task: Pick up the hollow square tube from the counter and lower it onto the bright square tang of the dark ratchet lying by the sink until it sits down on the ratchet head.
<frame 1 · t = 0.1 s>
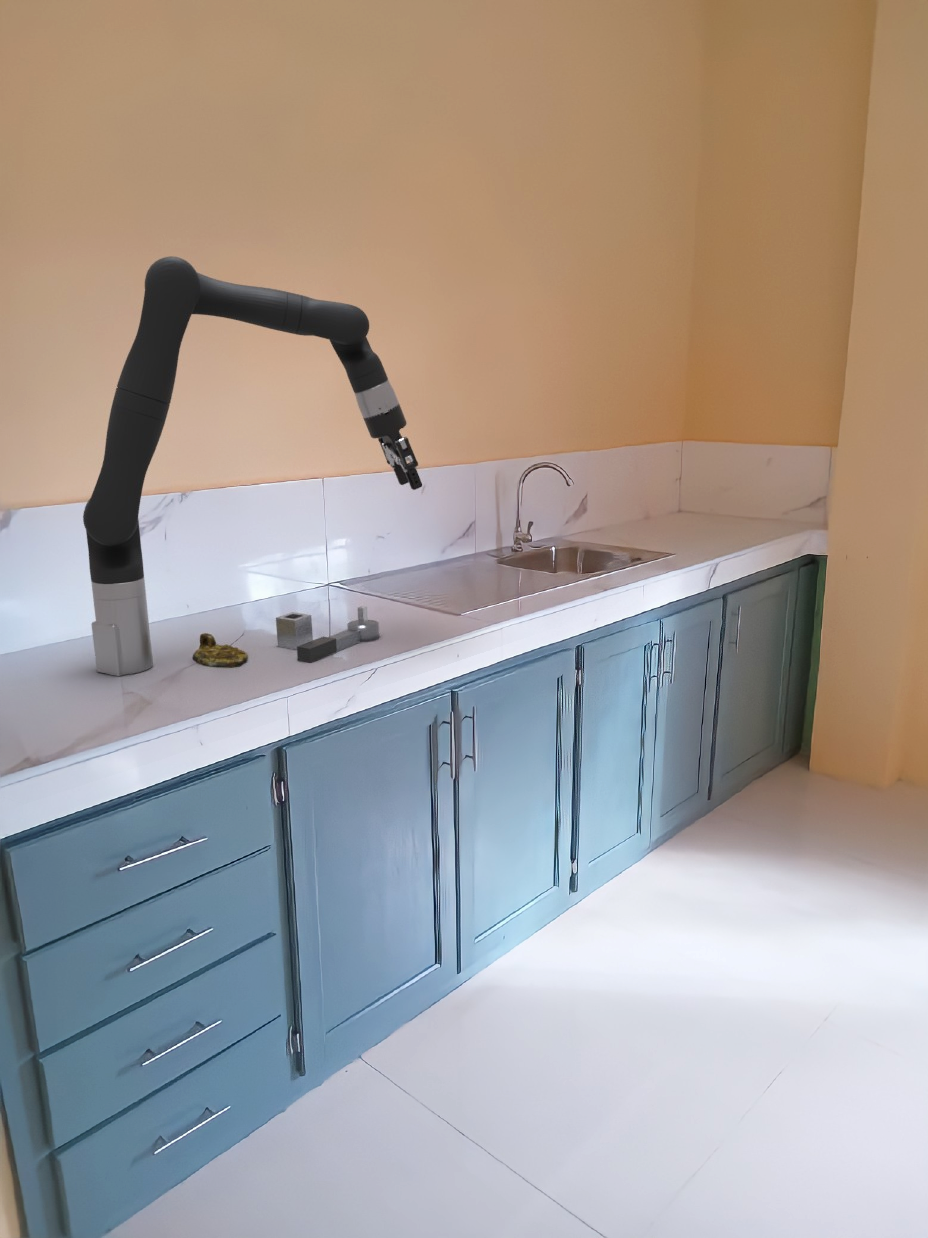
hand: (411, 485, 188), 31 cm above the counter, tool tilted 20°, fingers open, 8 cm apart
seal: (220, 661, 183), on the counter
hollow square tube: (295, 645, 191), on the counter
ratchet: (363, 637, 196), on the counter
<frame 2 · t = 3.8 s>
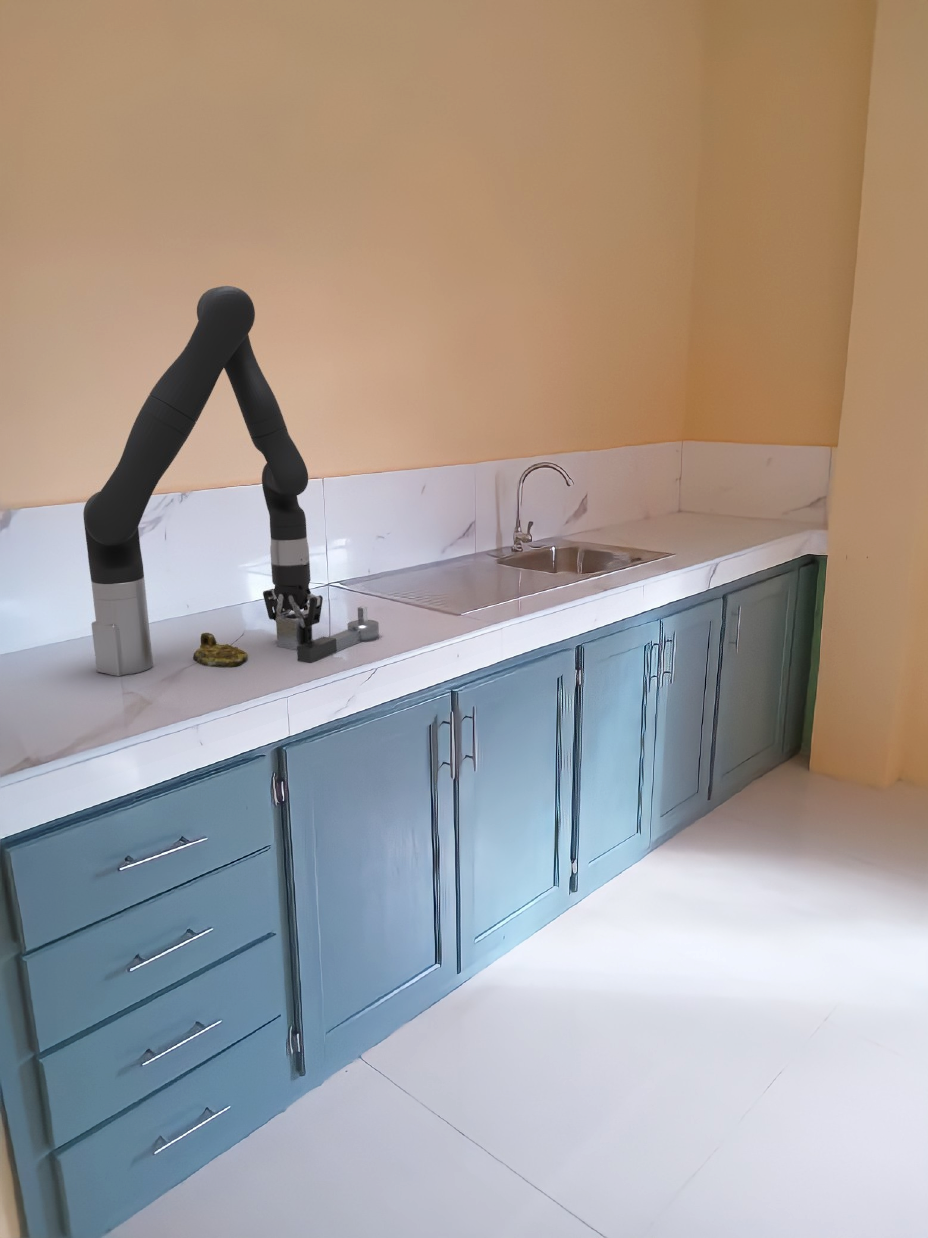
hand: (295, 642, 191), 1 cm above the counter, tool pointing down, fingers closed on hollow square tube, 5 cm apart
hollow square tube: (295, 645, 191), on the counter, touching gripper
everything else where it was.
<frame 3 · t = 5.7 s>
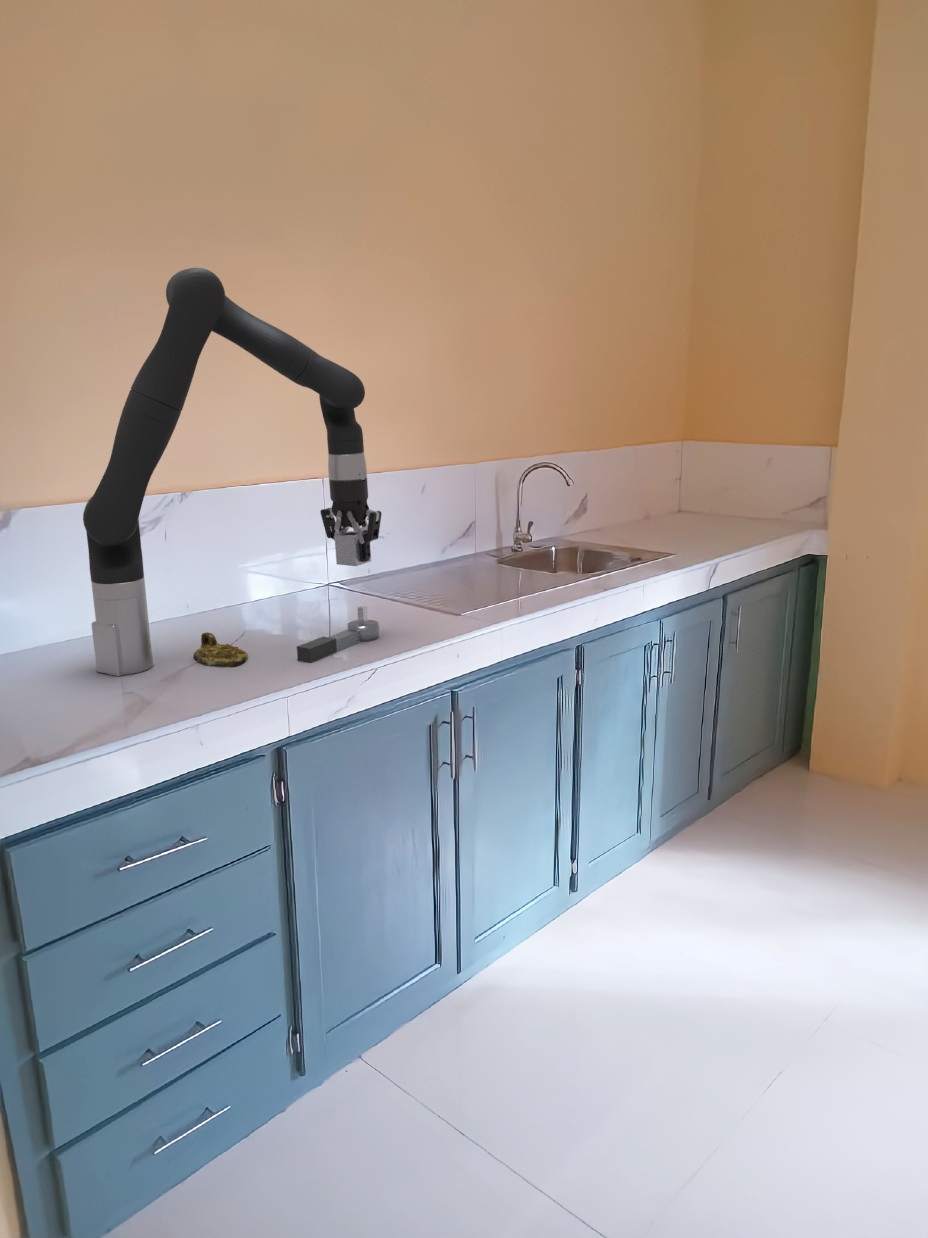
hand: (353, 559, 191), 17 cm above the counter, tool pointing down, fingers closed on hollow square tube, 5 cm apart
hollow square tube: (353, 562, 191), point 16 cm above the counter, touching gripper
everything else where it was.
when the fingers open (5 cm above the counter, at t = 7.8 s): hollow square tube stays where it is, resting on ratchet.
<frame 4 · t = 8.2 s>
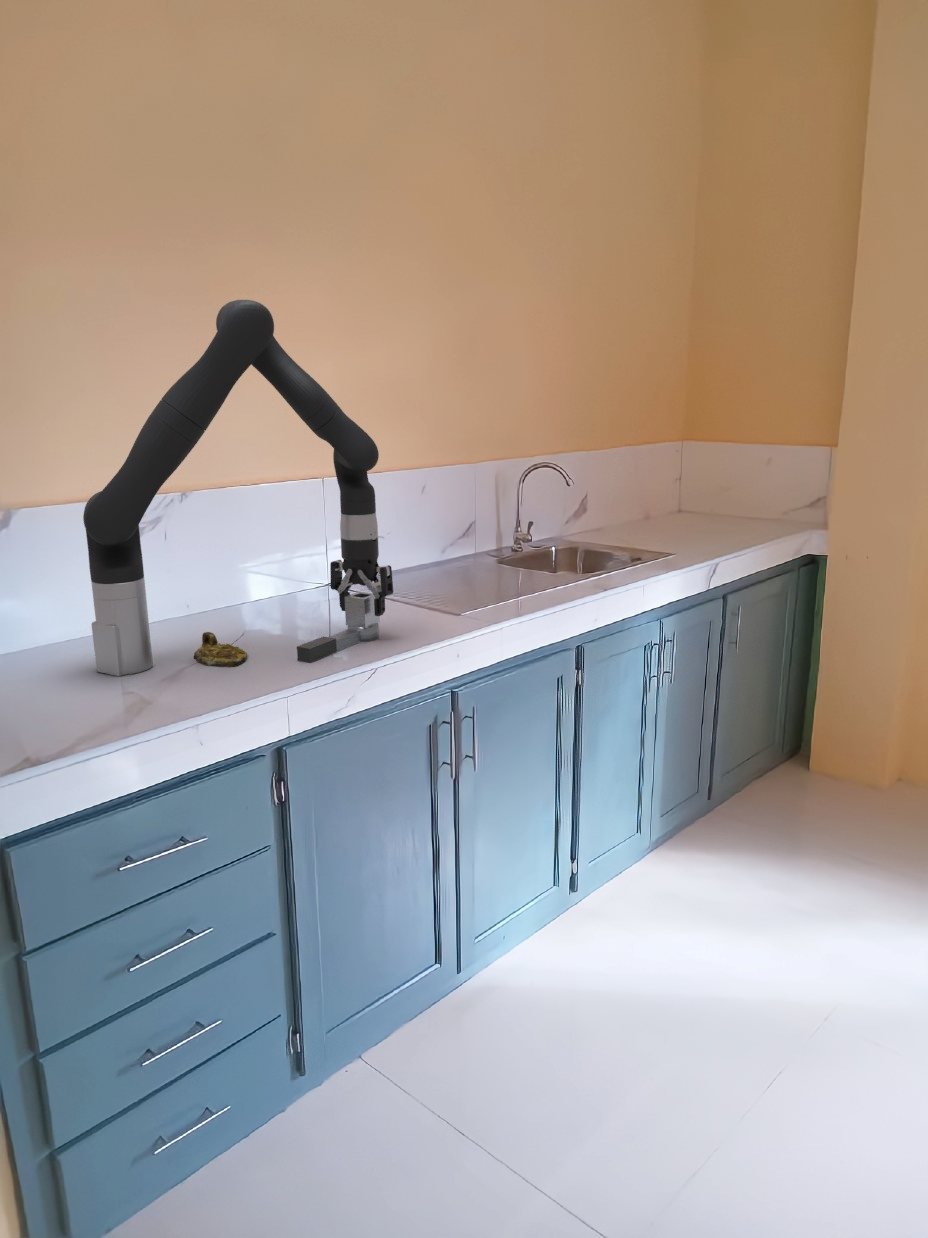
hand: (362, 612, 194), 5 cm above the counter, tool pointing down, fingers open, 8 cm apart
hollow square tube: (362, 623, 195), point 3 cm above the counter, touching ratchet
everything else where it was.
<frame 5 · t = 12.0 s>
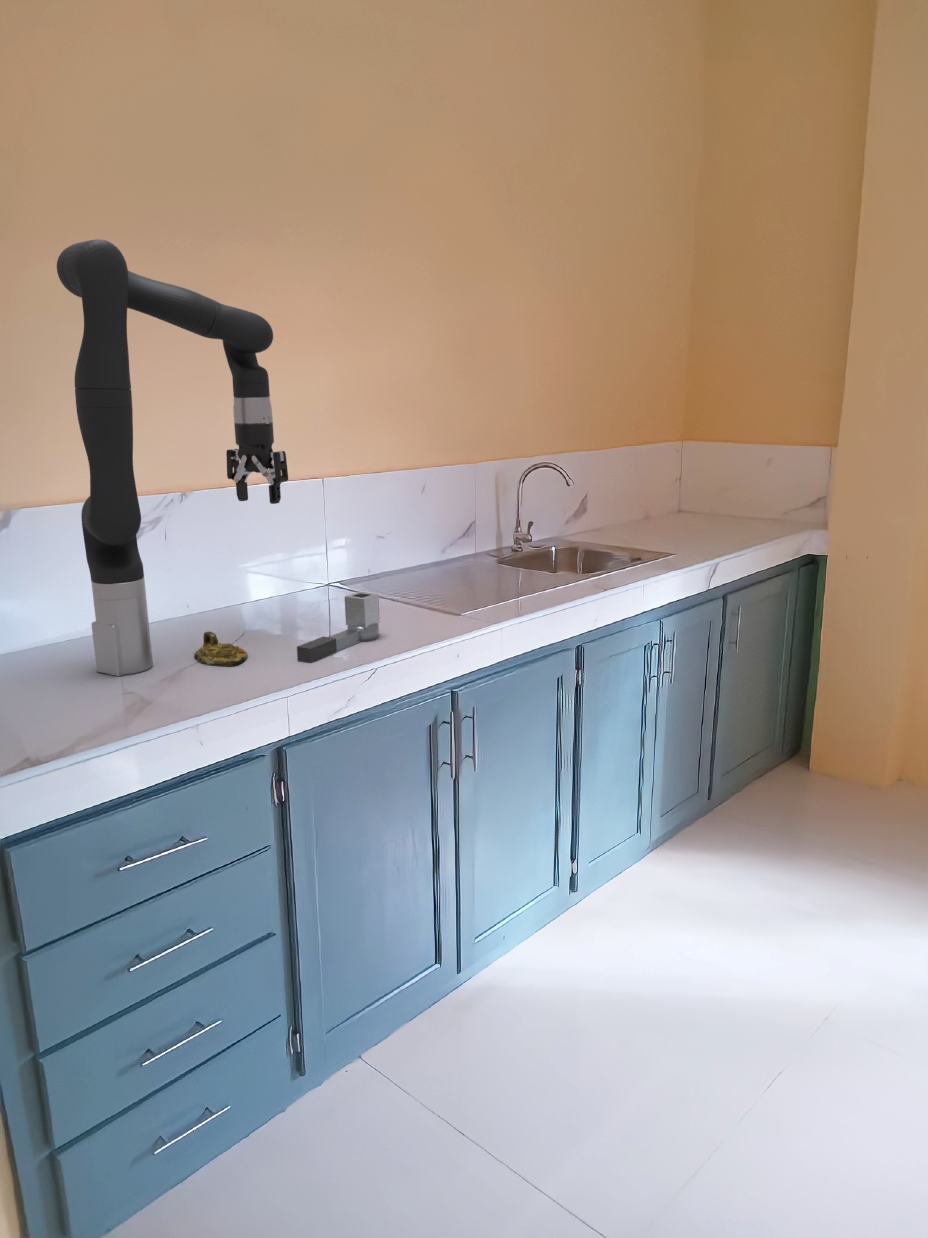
hand: (259, 502, 191), 28 cm above the counter, tool pointing down, fingers open, 8 cm apart
nothing on the counter moved.
at the end: hollow square tube 0.0 cm off-centre on the ratchet, point 3.0 cm above the ratchet's base; hollow square tube tilted 0°; the gripper is holding nothing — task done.
